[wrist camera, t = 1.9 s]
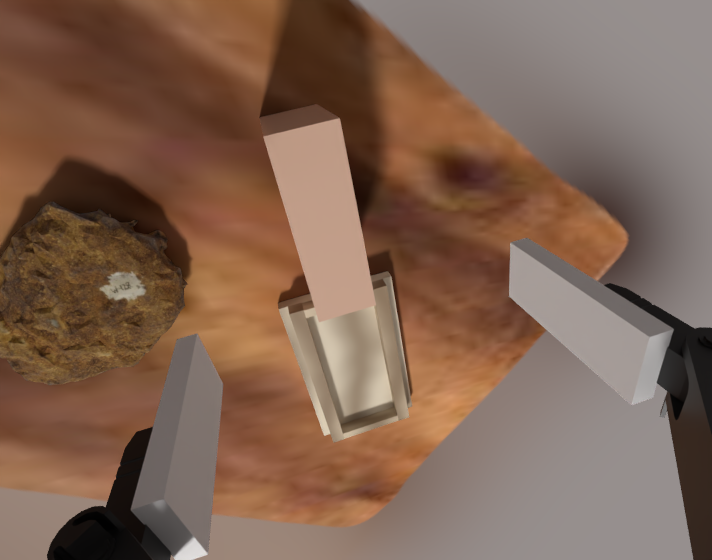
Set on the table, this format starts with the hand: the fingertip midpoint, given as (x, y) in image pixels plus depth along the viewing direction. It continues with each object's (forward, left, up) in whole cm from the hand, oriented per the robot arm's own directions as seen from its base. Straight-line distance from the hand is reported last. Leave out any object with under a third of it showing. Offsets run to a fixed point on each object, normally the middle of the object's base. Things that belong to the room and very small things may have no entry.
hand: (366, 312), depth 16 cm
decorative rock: (+3, -18, -17) cm, 25 cm away
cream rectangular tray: (+17, 0, -16) cm, 23 cm away
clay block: (0, 0, -16) cm, 16 cm away
